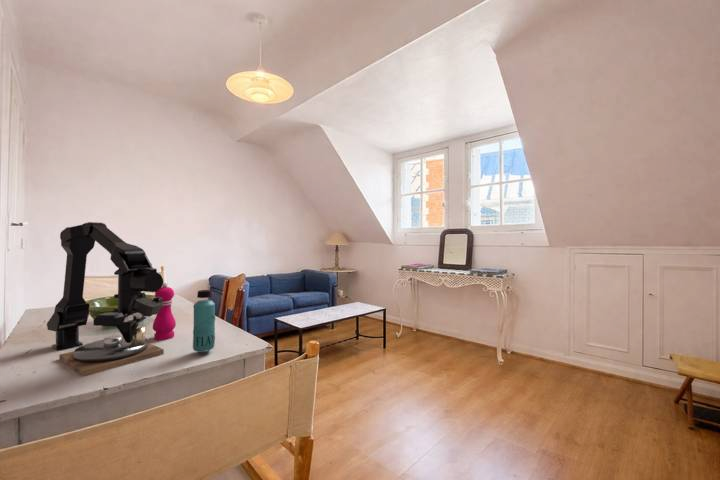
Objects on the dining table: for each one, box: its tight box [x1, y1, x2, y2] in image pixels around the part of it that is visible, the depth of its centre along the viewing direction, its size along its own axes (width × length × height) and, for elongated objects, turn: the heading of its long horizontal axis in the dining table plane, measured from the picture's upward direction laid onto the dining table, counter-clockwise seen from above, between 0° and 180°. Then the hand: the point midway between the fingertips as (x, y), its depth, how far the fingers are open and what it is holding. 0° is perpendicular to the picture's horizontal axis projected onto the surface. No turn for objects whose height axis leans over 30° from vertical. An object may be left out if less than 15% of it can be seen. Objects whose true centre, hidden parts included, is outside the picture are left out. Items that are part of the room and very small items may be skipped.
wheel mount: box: [58, 342, 165, 377], centre depth 98 cm, size 20×20×2 cm
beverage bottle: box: [192, 289, 216, 353], centre depth 103 cm, size 6×7×20 cm
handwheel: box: [73, 325, 149, 362], centre depth 98 cm, size 18×18×7 cm
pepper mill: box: [152, 282, 177, 341], centre depth 117 cm, size 7×7×20 cm
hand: (128, 342), depth 96 cm, fingers closed
